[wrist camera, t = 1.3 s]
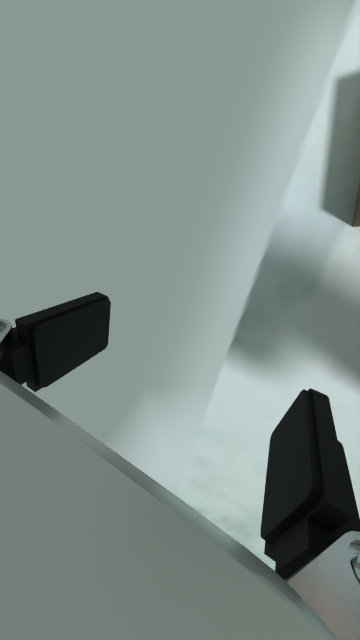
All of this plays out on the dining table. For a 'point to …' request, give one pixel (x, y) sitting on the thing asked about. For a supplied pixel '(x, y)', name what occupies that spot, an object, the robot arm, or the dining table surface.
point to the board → (357, 211)
